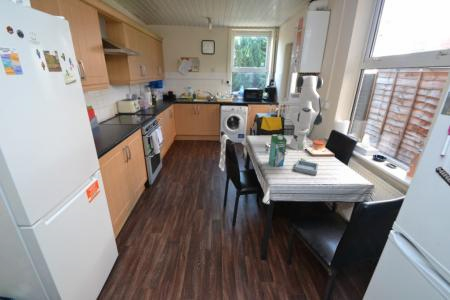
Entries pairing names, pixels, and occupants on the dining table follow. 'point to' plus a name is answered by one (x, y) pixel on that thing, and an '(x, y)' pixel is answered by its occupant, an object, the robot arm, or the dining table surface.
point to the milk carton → (277, 150)
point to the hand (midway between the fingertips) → (300, 146)
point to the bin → (306, 167)
